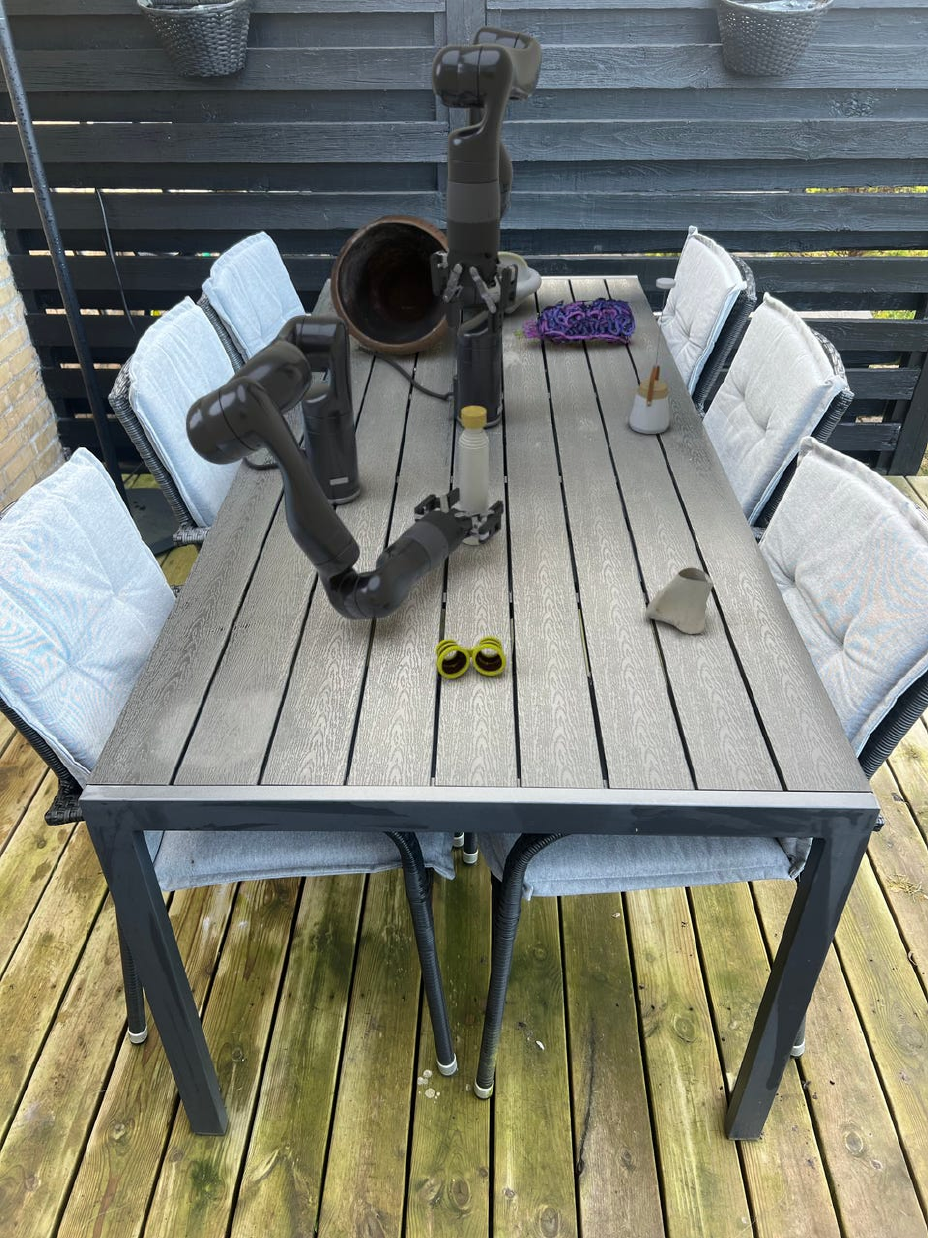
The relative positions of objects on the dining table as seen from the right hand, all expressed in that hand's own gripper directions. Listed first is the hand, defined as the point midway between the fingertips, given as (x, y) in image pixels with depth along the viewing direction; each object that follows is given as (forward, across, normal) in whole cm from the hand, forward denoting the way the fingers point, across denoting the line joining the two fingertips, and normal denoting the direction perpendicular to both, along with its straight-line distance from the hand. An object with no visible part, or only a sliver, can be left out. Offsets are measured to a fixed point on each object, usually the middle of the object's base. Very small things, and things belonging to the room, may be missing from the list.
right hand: (473, 329), depth 139 cm
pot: (+37, +67, -68) cm, 102 cm away
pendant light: (+37, -6, -56) cm, 67 cm away
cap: (+13, 0, 0) cm, 13 cm away
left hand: (+30, 0, -2) cm, 30 cm away
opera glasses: (+37, -19, +29) cm, 51 cm away
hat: (+37, +58, -99) cm, 121 cm away
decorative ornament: (+37, +30, -88) cm, 99 cm away
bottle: (+37, 0, 0) cm, 37 cm away
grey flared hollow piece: (+37, -39, +3) cm, 54 cm away
